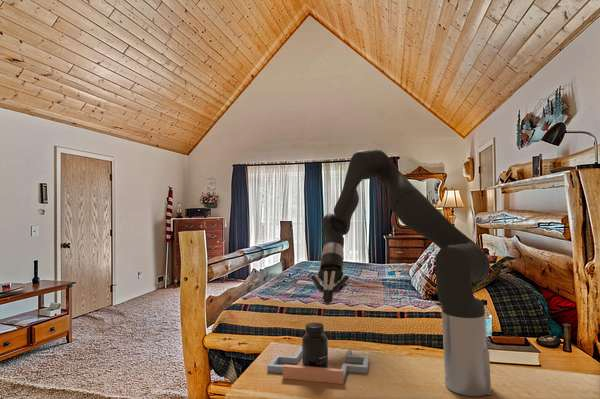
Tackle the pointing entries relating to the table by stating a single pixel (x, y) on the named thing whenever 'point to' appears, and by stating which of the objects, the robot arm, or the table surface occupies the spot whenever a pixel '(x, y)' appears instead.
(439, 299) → the robot arm
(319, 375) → the grey zigzag frame
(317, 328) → the supplement bottle
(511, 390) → the table surface
